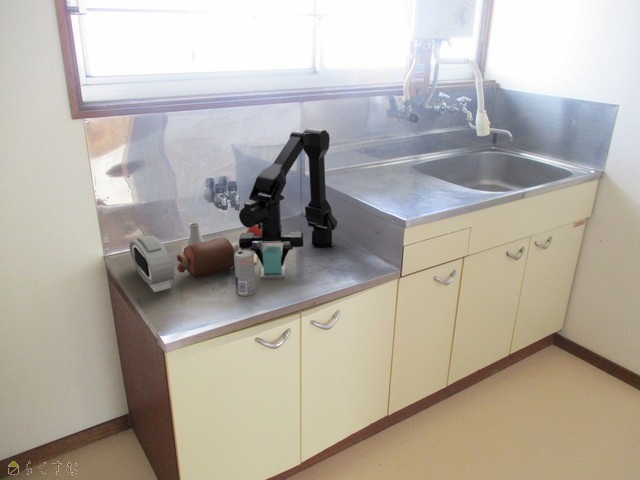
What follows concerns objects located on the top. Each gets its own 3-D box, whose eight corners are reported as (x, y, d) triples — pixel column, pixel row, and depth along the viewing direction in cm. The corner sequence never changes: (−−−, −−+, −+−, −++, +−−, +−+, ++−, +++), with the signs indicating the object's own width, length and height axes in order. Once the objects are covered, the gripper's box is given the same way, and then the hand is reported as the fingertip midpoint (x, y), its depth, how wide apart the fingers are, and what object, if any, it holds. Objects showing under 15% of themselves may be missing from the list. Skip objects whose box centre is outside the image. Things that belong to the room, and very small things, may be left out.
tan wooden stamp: (257, 255, 171) (256, 237, 168) (256, 264, 164) (255, 245, 162) (236, 255, 170) (235, 237, 168) (234, 264, 164) (232, 245, 162)
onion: (244, 243, 180) (243, 221, 177) (260, 240, 182) (259, 219, 179) (249, 249, 175) (248, 227, 172) (266, 246, 177) (265, 224, 174)
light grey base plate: (284, 267, 162) (284, 248, 159) (284, 277, 155) (283, 258, 153) (262, 268, 162) (261, 249, 159) (260, 278, 155) (259, 258, 153)
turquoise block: (281, 265, 160) (281, 245, 158) (281, 273, 156) (280, 252, 153) (264, 266, 160) (263, 246, 158) (263, 273, 156) (262, 253, 153)
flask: (202, 257, 169) (199, 228, 166) (181, 255, 171) (178, 227, 167) (211, 248, 176) (208, 221, 172) (191, 247, 177) (188, 219, 173)
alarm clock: (132, 268, 162) (126, 229, 157) (152, 263, 165) (146, 225, 161) (155, 297, 144) (149, 255, 140) (176, 291, 147) (171, 250, 143)
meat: (230, 259, 169) (228, 229, 165) (248, 271, 160) (247, 240, 156) (171, 275, 157) (167, 243, 153) (187, 289, 149) (184, 256, 145)
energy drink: (246, 285, 151) (244, 247, 146) (259, 291, 147) (257, 252, 143) (232, 292, 147) (229, 253, 142) (245, 298, 144) (243, 258, 139)
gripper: (302, 207, 159) (303, 254, 165) (241, 208, 159) (244, 255, 165) (302, 220, 149) (303, 269, 155) (237, 221, 148) (240, 271, 154)
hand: (272, 265), depth 158 cm, fingers closed on turquoise block, 5 cm apart
